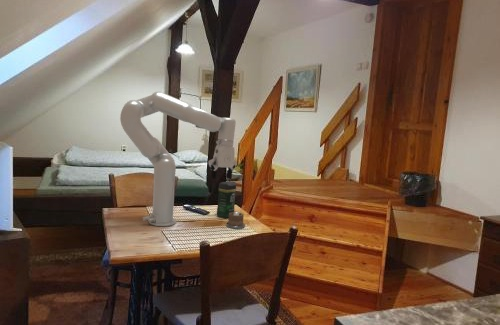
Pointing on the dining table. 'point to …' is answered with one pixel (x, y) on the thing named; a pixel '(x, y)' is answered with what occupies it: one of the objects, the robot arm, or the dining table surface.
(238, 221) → the collar
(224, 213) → the coffee jar
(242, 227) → the post
